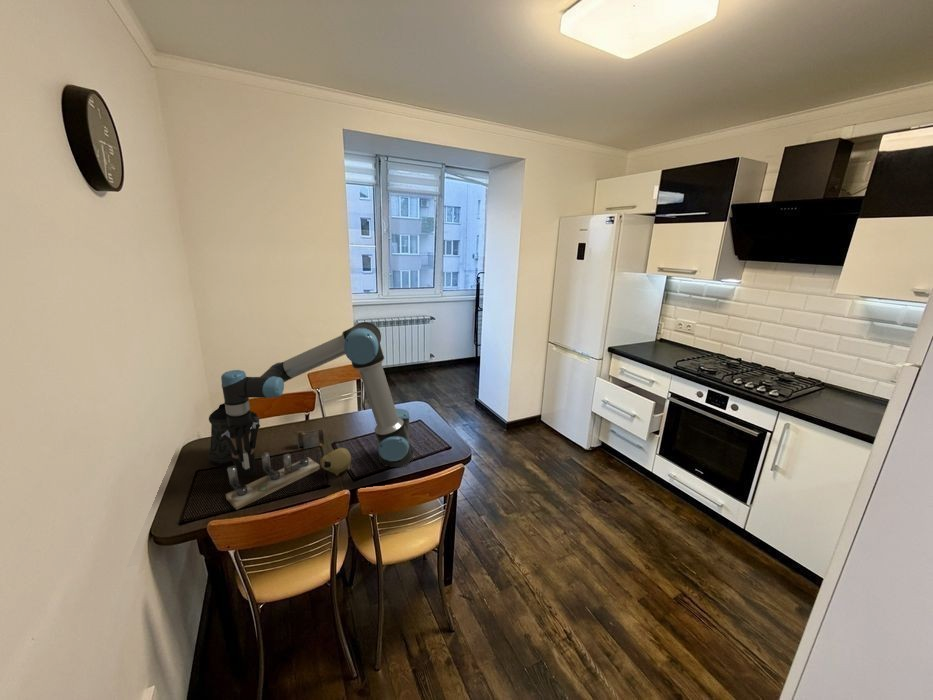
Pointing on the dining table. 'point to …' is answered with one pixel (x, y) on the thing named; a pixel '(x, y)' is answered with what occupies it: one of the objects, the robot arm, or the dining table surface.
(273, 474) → the grey metal hook
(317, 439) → the grey brown upright panel
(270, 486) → the coat hook board
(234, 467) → the grey metal coat hook
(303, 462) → the grey coat hook
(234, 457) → the travel mug
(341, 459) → the toy pig
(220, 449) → the beer stein
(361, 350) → the robot arm
